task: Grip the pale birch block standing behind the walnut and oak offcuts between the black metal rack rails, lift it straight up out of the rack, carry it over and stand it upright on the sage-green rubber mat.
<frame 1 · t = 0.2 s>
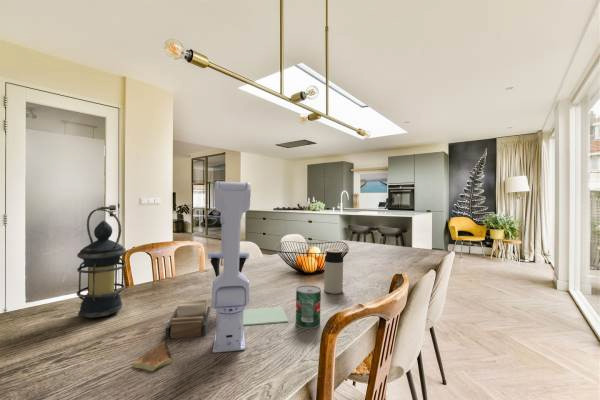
hand: (228, 278, 101), 10 cm above the table, tool pointing down, fingers open, 7 cm apart
birch block: (191, 321, 87), on the table
offcut stack: (187, 333, 79), on the table
rack: (190, 325, 84), on the table
canned tomato: (307, 324, 87), on the table
shard: (151, 361, 66), on the table
lantern: (101, 314, 91), on the table
rubber mat: (255, 316, 92), on the table
travel mug: (333, 291, 120), on the table
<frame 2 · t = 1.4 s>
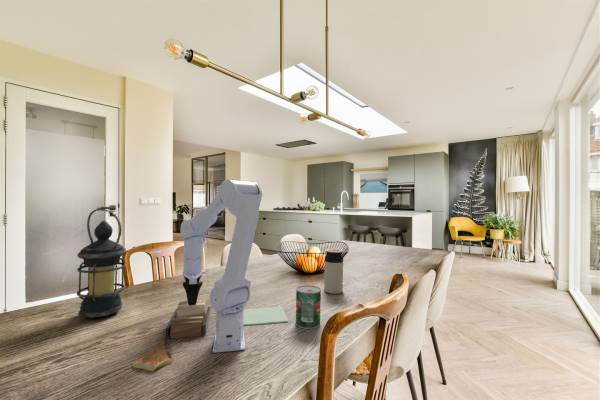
hand: (192, 300, 87), 7 cm above the table, tool pointing down, fingers open, 7 cm apart
nothing on the table moved.
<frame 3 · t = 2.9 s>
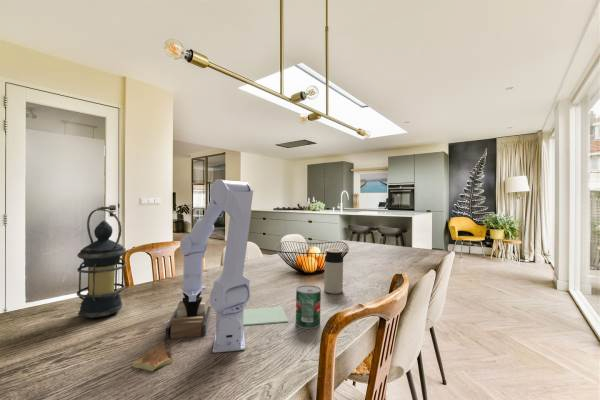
hand: (191, 316, 87), 1 cm above the table, tool pointing down, fingers closed on birch block, 4 cm apart
birch block: (191, 321, 87), on the table, touching gripper
everything else where it was.
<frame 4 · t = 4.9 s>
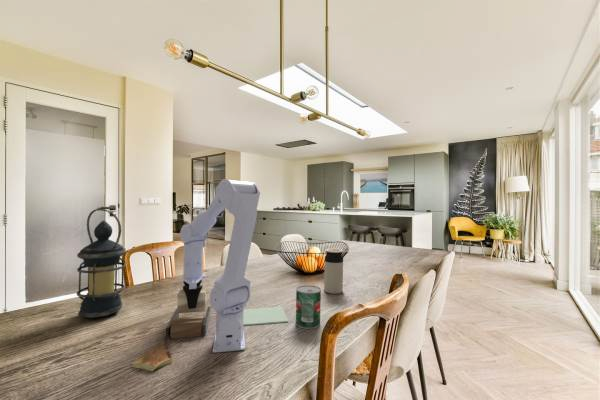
hand: (192, 305, 87), 5 cm above the table, tool pointing down, fingers closed on birch block, 4 cm apart
birch block: (192, 309, 87), point 4 cm above the table, touching gripper
everything else where it was.
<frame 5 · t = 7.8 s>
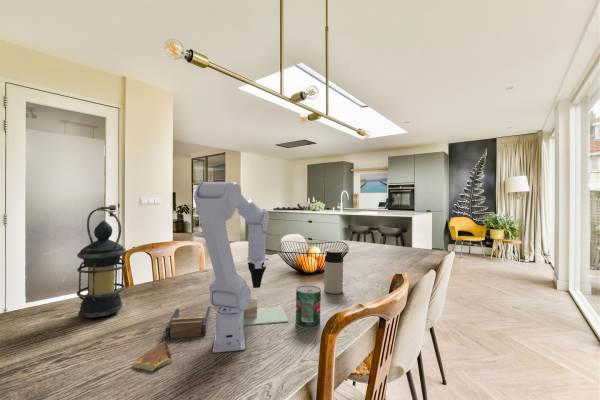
hand: (256, 285, 92), 10 cm above the table, tool pointing down, fingers open, 4 cm apart
birch block: (244, 316, 91), resting on rubber mat
everything else where it was.
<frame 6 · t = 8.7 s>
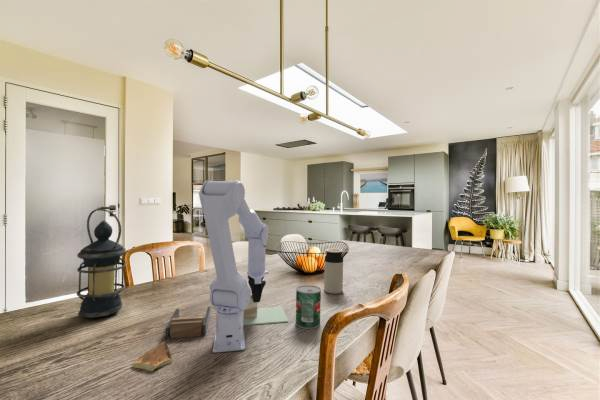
hand: (256, 299, 92), 6 cm above the table, tool pointing down, fingers open, 4 cm apart
birch block: (244, 316, 91), resting on rubber mat, touching gripper
everything else where it was.
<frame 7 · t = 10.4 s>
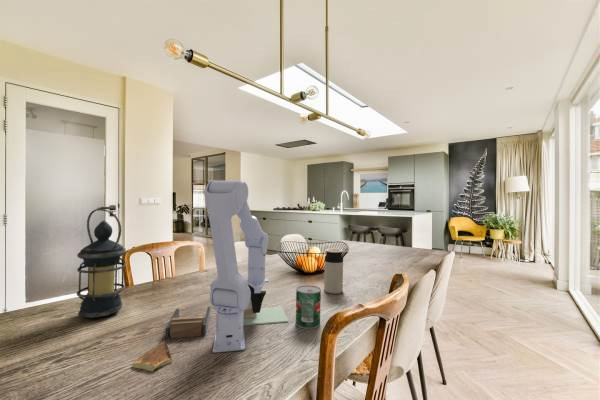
hand: (255, 307, 92), 3 cm above the table, tool pointing down, fingers open, 7 cm apart
birch block: (243, 316, 91), resting on rubber mat
everything else where it was.
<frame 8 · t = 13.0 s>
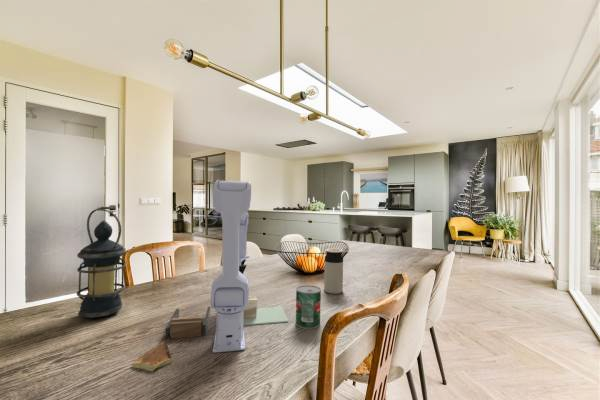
hand: (237, 281, 99), 9 cm above the table, tool pointing down, fingers open, 7 cm apart
nothing on the table moved.
at the end: birch block inside the target area (3.9 cm from its centre), resting on rubber mat; birch block tilted 0°; the gripper is holding nothing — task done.
